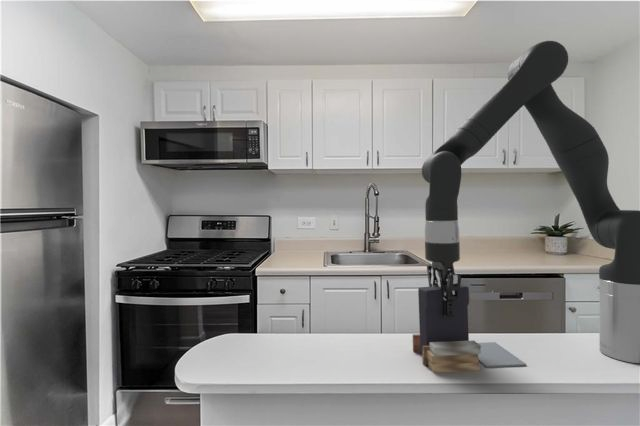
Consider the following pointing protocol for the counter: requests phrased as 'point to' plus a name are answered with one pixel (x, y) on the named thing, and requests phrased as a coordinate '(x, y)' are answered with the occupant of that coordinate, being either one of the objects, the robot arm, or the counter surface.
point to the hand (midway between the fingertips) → (443, 313)
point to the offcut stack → (453, 356)
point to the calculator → (442, 317)
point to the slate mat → (497, 356)
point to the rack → (417, 348)
